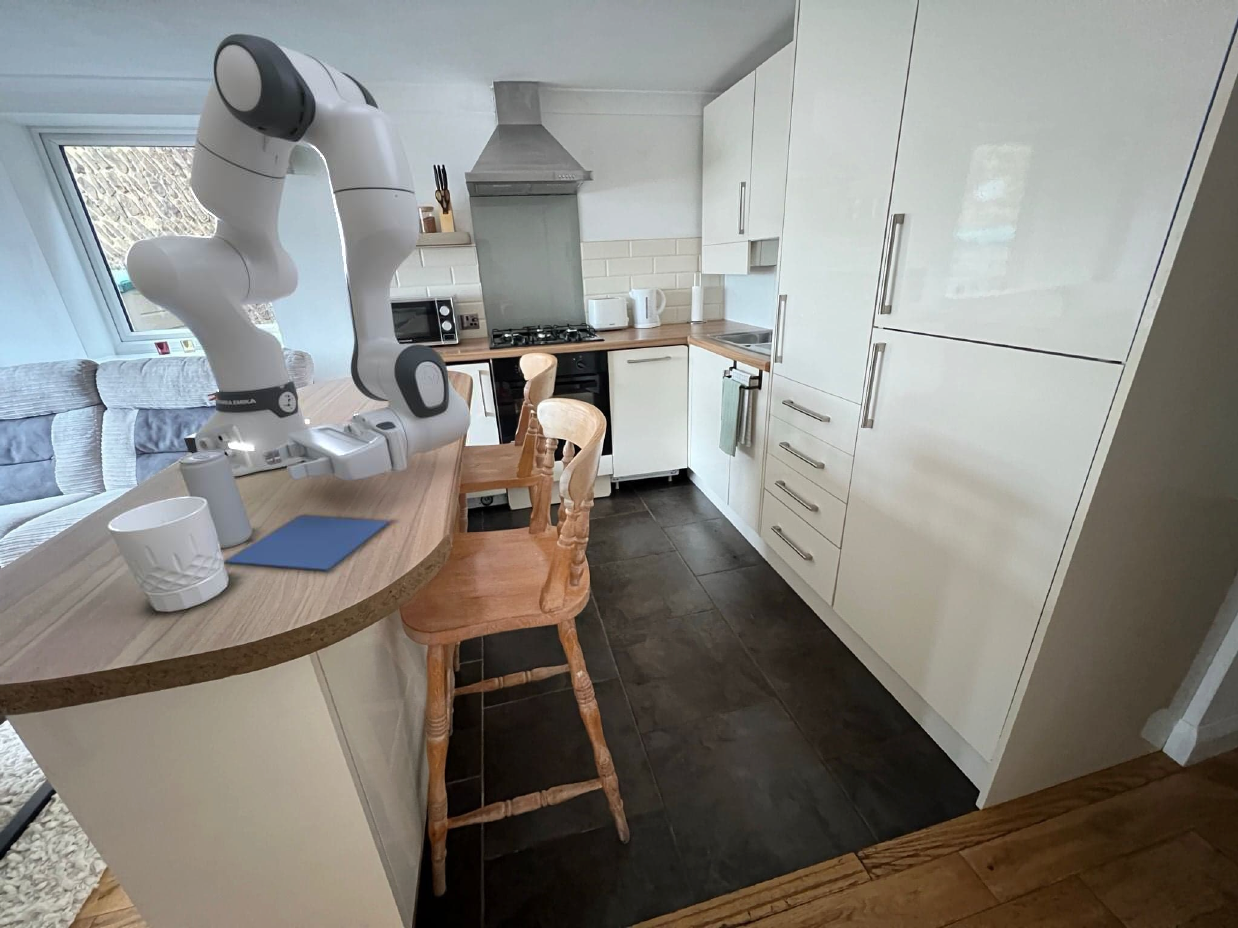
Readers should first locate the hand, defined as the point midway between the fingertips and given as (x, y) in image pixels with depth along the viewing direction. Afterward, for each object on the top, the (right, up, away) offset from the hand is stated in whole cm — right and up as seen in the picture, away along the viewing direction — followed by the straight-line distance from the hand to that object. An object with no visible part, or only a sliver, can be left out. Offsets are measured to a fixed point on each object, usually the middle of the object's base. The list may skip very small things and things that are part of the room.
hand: (276, 466), depth 69 cm
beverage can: (-4, -10, -2) cm, 11 cm away
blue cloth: (+7, -10, -3) cm, 13 cm away
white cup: (0, -14, -14) cm, 20 cm away
